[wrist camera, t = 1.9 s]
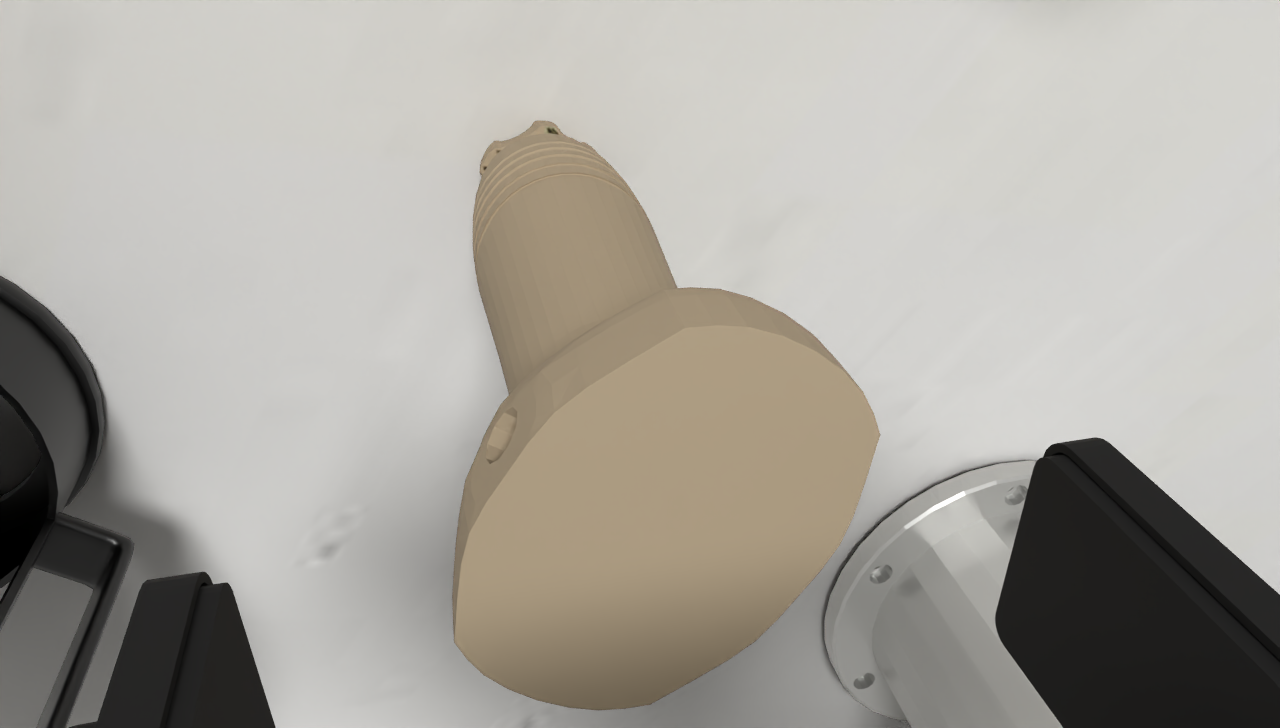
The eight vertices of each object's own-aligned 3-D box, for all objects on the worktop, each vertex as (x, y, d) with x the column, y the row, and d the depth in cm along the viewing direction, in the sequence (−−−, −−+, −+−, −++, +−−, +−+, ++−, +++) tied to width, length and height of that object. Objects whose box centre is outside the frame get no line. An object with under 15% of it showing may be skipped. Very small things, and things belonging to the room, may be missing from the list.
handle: (676, 122, 25) (947, 426, 12) (550, 311, 27) (671, 740, 14) (522, 20, 23) (657, 258, 10) (397, 232, 25) (380, 652, 12)
